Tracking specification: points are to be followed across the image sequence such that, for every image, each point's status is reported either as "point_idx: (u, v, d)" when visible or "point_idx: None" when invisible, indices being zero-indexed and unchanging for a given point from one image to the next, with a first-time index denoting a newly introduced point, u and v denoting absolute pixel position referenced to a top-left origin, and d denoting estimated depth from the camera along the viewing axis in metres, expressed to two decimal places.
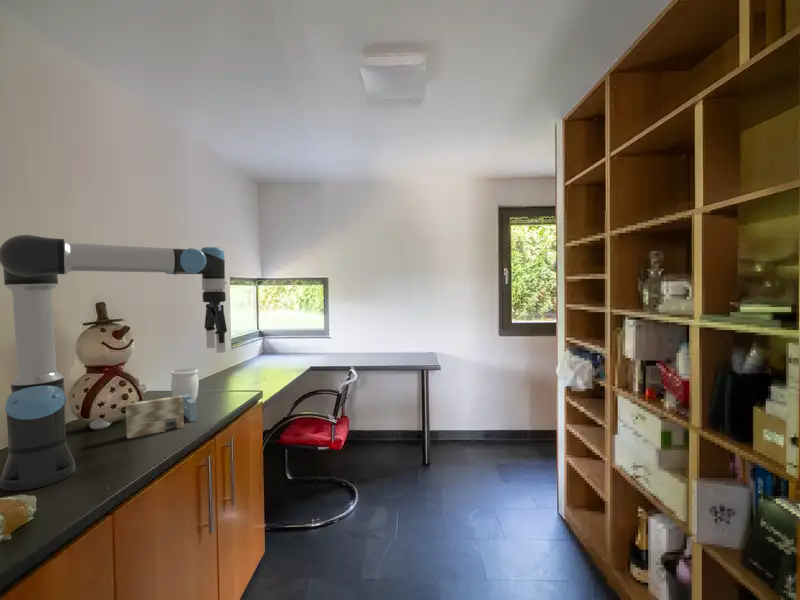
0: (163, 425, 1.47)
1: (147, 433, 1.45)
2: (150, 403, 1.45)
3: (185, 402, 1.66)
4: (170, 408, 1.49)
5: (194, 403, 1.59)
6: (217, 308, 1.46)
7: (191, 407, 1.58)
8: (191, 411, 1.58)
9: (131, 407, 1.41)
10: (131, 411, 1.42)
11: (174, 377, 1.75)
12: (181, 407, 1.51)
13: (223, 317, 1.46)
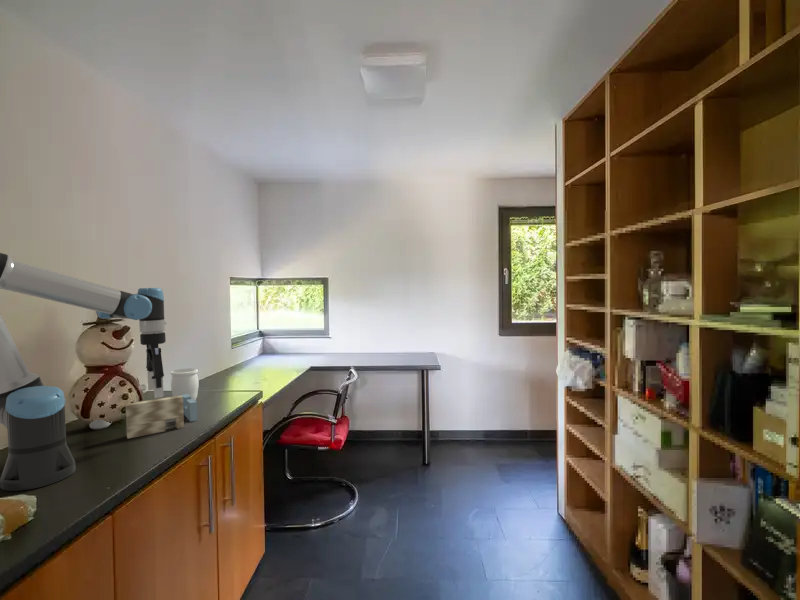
0: (163, 425, 1.47)
1: (147, 433, 1.45)
2: (150, 403, 1.45)
3: (185, 402, 1.66)
4: (170, 408, 1.49)
5: (194, 403, 1.59)
6: (154, 352, 1.41)
7: (191, 407, 1.58)
8: (191, 411, 1.58)
9: (131, 407, 1.42)
10: (131, 411, 1.42)
11: (174, 377, 1.75)
12: (181, 407, 1.51)
13: (160, 361, 1.41)
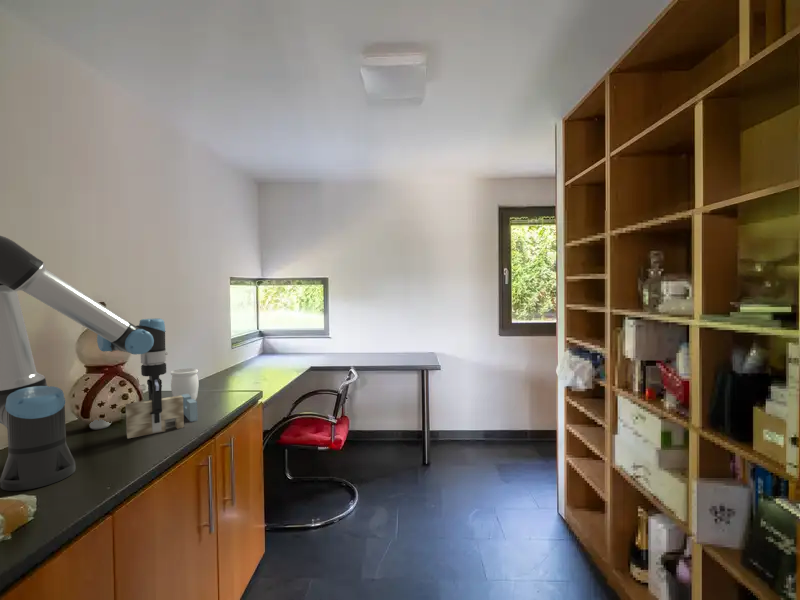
0: (163, 425, 1.47)
1: (147, 433, 1.45)
2: (150, 403, 1.45)
3: (185, 402, 1.66)
4: (170, 408, 1.49)
5: (194, 403, 1.59)
6: (154, 389, 1.41)
7: (191, 407, 1.58)
8: (191, 411, 1.58)
9: (131, 407, 1.42)
10: (131, 411, 1.42)
11: (174, 377, 1.75)
12: (181, 407, 1.51)
13: (160, 398, 1.43)
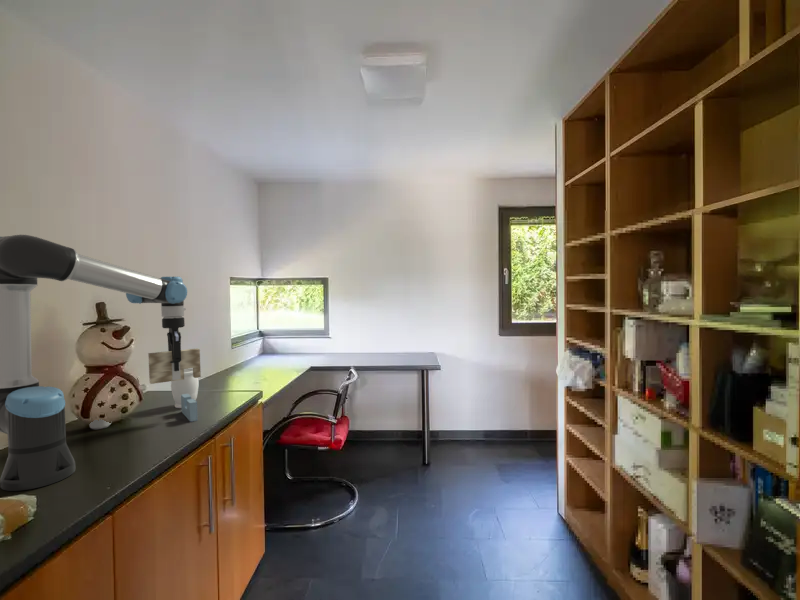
0: (182, 374, 1.62)
1: (168, 380, 1.59)
2: (170, 353, 1.59)
3: (185, 402, 1.66)
4: (188, 358, 1.63)
5: (194, 403, 1.59)
6: (174, 339, 1.56)
7: (191, 407, 1.58)
8: (191, 411, 1.58)
9: (153, 355, 1.56)
10: (154, 359, 1.56)
11: None
12: (198, 358, 1.65)
13: (179, 348, 1.57)
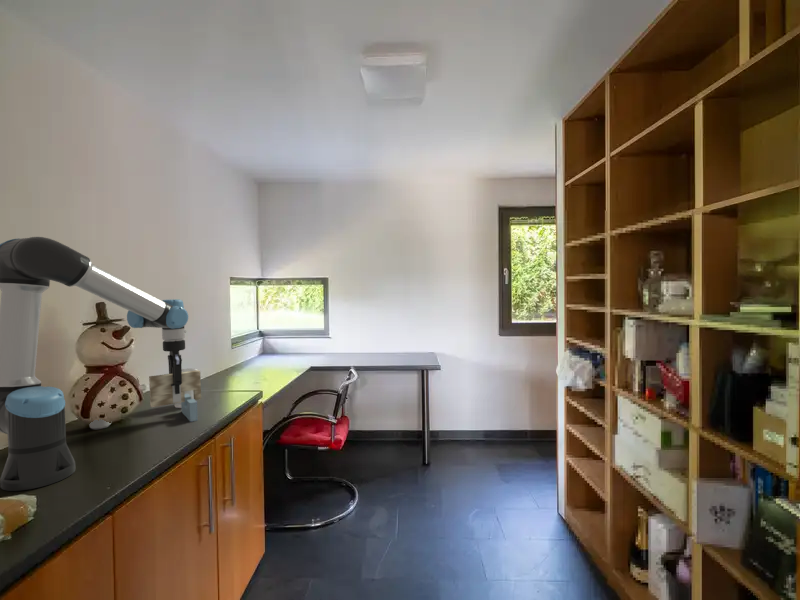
0: (183, 396, 1.62)
1: (168, 403, 1.59)
2: (171, 376, 1.59)
3: (185, 402, 1.66)
4: (189, 380, 1.63)
5: (194, 403, 1.59)
6: (175, 363, 1.56)
7: (191, 407, 1.58)
8: (191, 411, 1.58)
9: (154, 378, 1.56)
10: (154, 382, 1.56)
11: None
12: (199, 380, 1.65)
13: (180, 371, 1.58)
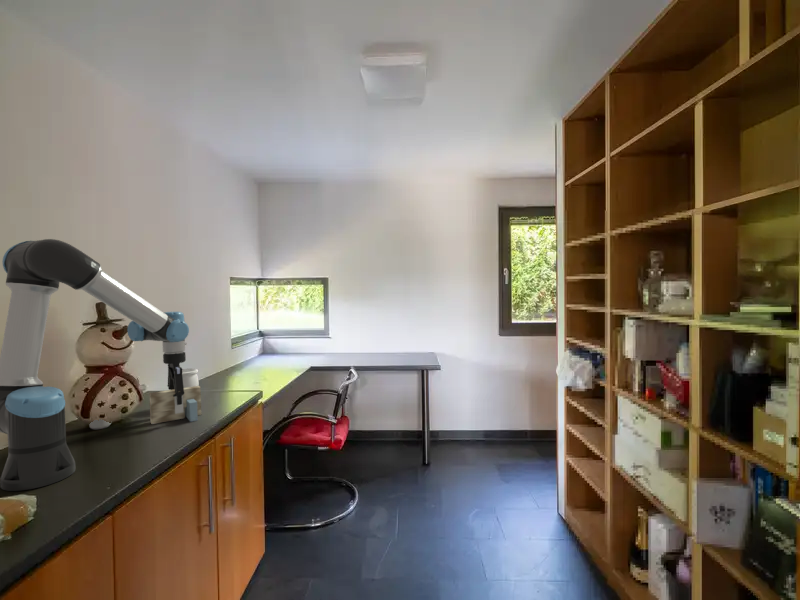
0: (183, 412, 1.62)
1: (169, 419, 1.59)
2: (171, 392, 1.60)
3: None
4: (189, 397, 1.63)
5: (194, 403, 1.59)
6: (176, 372, 1.56)
7: (191, 407, 1.58)
8: (191, 411, 1.58)
9: (154, 395, 1.56)
10: (155, 399, 1.56)
11: None
12: (199, 396, 1.65)
13: (181, 380, 1.56)
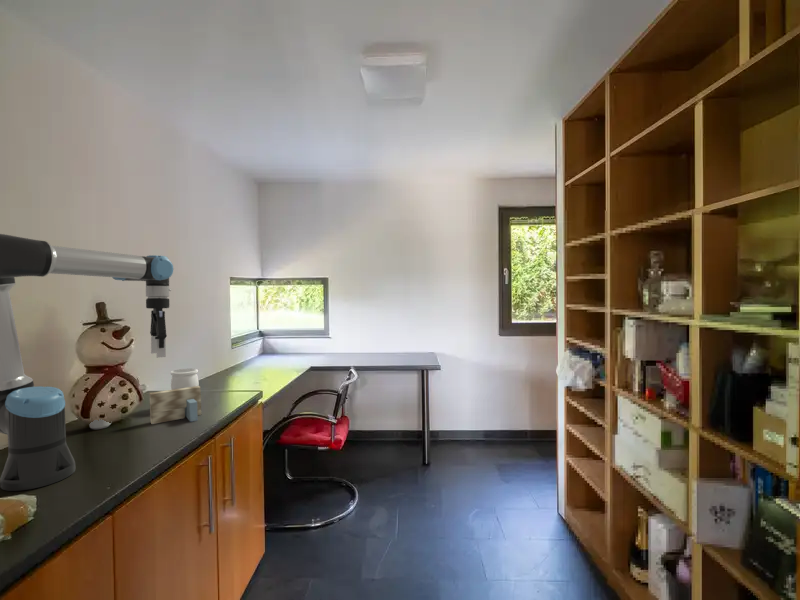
0: (183, 412, 1.62)
1: (169, 419, 1.59)
2: (171, 392, 1.60)
3: None
4: (189, 397, 1.63)
5: (194, 403, 1.59)
6: (158, 314, 1.51)
7: (191, 407, 1.58)
8: (191, 411, 1.58)
9: (154, 395, 1.56)
10: (155, 399, 1.56)
11: (174, 377, 1.75)
12: (199, 396, 1.65)
13: (164, 323, 1.51)
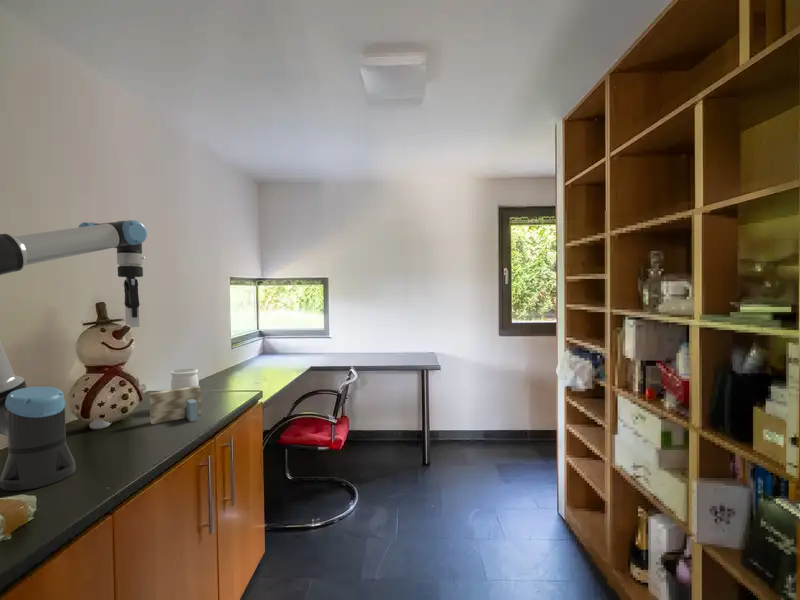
0: (183, 412, 1.62)
1: (169, 419, 1.59)
2: (171, 392, 1.60)
3: None
4: (189, 397, 1.63)
5: (194, 403, 1.59)
6: (130, 282, 1.44)
7: (191, 407, 1.58)
8: (191, 411, 1.58)
9: (154, 395, 1.56)
10: (155, 399, 1.56)
11: (174, 377, 1.75)
12: (199, 396, 1.65)
13: (136, 291, 1.44)
